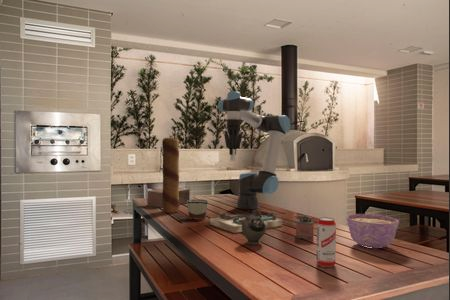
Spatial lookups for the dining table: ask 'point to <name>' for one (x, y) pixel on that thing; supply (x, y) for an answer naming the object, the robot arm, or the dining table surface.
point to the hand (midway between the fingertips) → (232, 160)
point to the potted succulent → (304, 227)
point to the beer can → (326, 242)
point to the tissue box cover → (157, 197)
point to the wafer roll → (170, 175)
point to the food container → (197, 208)
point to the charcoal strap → (242, 215)
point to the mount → (236, 227)
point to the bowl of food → (372, 229)
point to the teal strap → (261, 218)
